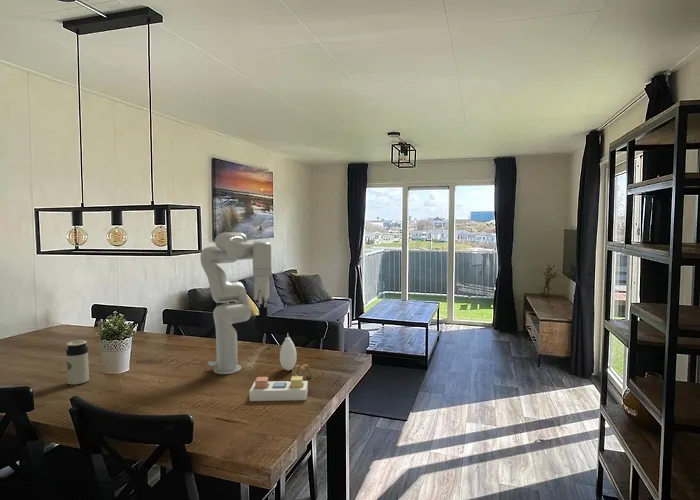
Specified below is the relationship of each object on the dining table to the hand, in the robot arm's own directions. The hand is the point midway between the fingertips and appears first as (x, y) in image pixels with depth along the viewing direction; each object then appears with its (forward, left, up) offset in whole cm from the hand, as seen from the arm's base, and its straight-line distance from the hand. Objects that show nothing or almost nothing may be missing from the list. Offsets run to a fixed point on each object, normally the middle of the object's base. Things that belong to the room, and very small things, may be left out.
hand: (263, 316), depth 178 cm
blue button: (+7, -6, -30) cm, 32 cm away
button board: (+7, -6, -31) cm, 32 cm away
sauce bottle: (+7, +25, -31) cm, 41 cm away
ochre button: (+14, -6, -28) cm, 32 cm away
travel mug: (-84, +13, -31) cm, 91 cm away
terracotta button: (0, -6, -28) cm, 29 cm away
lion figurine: (+15, +9, -31) cm, 36 cm away
